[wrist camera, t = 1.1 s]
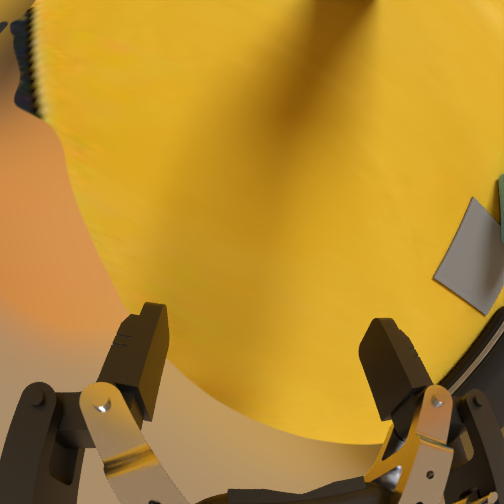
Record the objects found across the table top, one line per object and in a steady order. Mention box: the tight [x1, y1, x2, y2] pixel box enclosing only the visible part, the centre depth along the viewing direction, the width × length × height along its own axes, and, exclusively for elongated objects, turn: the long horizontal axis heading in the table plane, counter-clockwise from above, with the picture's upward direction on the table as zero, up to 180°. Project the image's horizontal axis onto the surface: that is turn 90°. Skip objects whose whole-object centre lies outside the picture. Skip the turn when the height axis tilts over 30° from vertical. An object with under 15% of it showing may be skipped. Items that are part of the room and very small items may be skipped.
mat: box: [433, 197, 504, 316], centre depth 32 cm, size 14×18×1 cm
